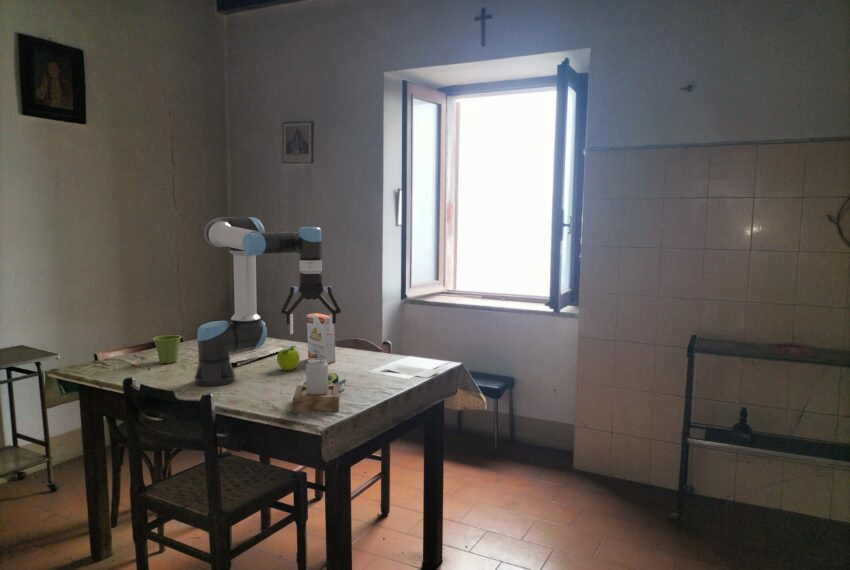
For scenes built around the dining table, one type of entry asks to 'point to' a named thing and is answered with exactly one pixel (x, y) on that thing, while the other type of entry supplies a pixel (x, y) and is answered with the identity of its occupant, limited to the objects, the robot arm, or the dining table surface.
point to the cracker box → (320, 337)
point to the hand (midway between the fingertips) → (311, 333)
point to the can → (317, 377)
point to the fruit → (288, 358)
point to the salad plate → (332, 380)
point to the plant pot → (167, 348)
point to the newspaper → (255, 355)
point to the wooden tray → (316, 400)
